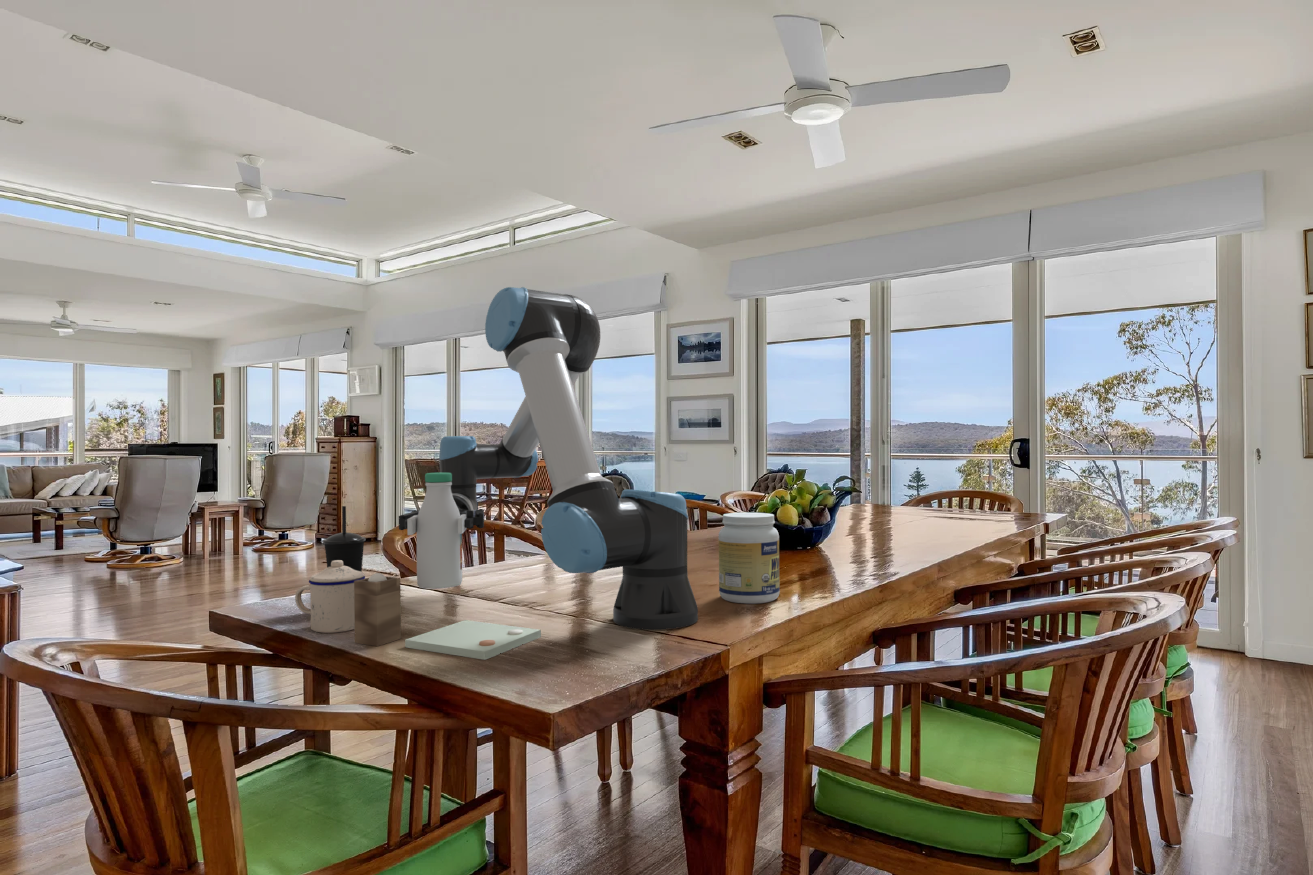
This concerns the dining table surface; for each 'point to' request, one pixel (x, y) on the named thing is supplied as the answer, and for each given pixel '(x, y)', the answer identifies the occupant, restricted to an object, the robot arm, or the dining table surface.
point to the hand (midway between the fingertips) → (435, 526)
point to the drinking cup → (345, 547)
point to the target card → (473, 639)
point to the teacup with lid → (331, 598)
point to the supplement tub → (749, 558)
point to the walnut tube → (377, 611)
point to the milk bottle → (438, 536)
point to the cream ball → (377, 577)
